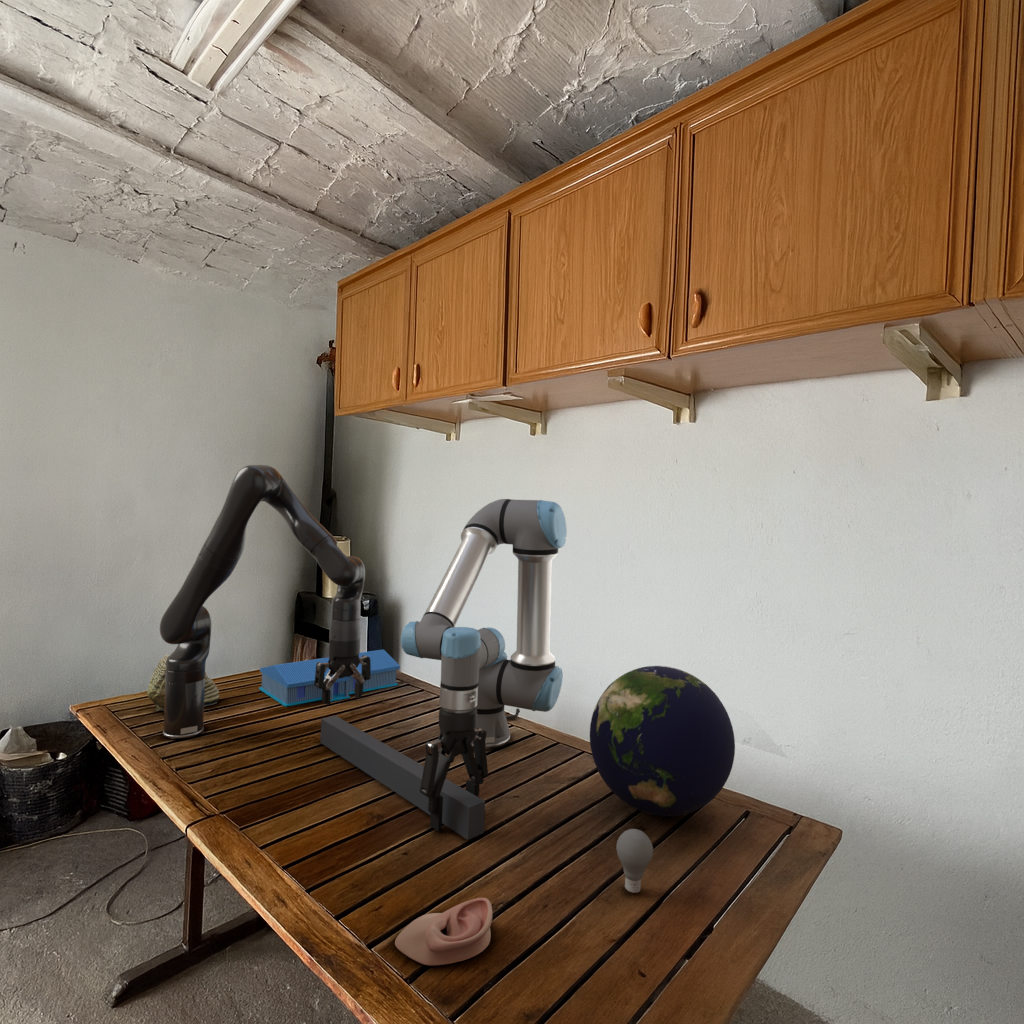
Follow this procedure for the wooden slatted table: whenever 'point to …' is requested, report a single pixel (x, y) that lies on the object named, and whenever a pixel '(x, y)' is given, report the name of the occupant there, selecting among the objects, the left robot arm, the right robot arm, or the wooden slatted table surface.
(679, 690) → the globe
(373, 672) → the model building
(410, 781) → the beam
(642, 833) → the light bulb
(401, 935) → the anatomical model
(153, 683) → the fossil
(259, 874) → the wooden slatted table surface
